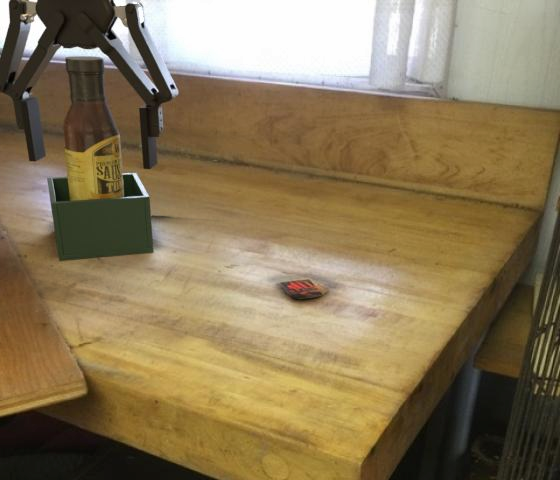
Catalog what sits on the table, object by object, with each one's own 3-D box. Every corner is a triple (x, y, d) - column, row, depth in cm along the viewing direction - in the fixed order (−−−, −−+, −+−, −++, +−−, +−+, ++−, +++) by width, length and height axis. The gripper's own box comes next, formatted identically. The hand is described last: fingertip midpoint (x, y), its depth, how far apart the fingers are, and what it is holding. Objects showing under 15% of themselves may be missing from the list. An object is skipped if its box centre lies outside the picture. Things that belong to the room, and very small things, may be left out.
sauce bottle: (111, 248, 81) (92, 62, 71) (64, 241, 82) (39, 58, 72) (137, 230, 86) (123, 56, 76) (92, 225, 88) (73, 52, 78)
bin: (59, 260, 79) (50, 203, 76) (54, 230, 88) (47, 177, 84) (153, 252, 82) (149, 196, 79) (140, 223, 91) (136, 172, 87)
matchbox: (299, 303, 70) (299, 299, 70) (270, 286, 74) (270, 282, 73) (335, 293, 73) (335, 289, 72) (305, 277, 76) (305, 273, 76)
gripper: (-69, -59, 67) (-26, 163, 78) (181, -53, 64) (190, 177, 75) (-28, -57, 74) (7, 148, 85) (201, -51, 71) (207, 161, 82)
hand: (93, 162), depth 80 cm, fingers open, 13 cm apart
